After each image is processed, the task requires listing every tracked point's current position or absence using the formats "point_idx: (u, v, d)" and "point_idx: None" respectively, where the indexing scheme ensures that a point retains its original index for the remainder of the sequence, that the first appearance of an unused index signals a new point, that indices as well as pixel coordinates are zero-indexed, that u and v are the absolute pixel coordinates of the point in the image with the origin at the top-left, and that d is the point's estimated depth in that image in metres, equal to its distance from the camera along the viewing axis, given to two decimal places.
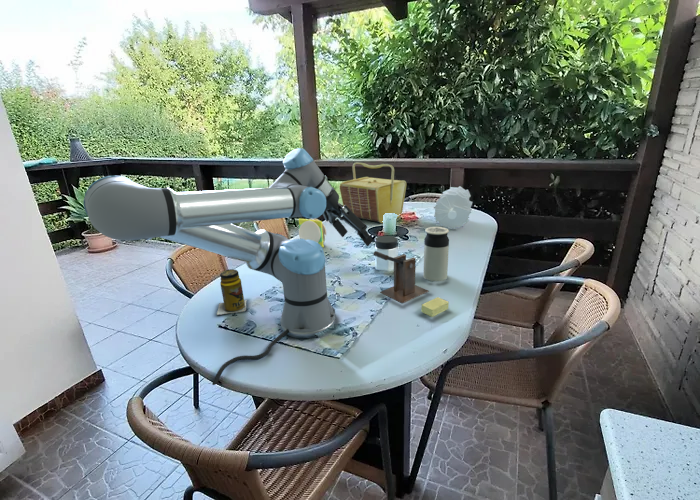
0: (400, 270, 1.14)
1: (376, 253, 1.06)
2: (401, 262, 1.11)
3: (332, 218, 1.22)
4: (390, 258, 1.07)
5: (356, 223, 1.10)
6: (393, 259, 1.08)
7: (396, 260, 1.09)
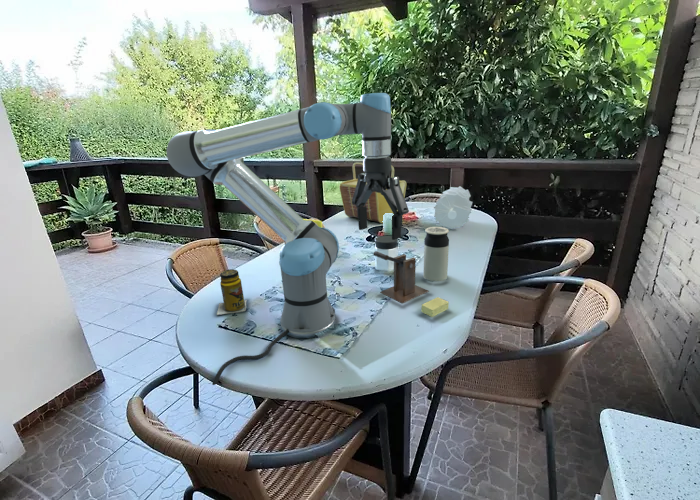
0: (400, 270, 1.14)
1: (376, 253, 1.06)
2: (401, 262, 1.11)
3: (364, 199, 1.04)
4: (390, 258, 1.07)
5: (400, 200, 0.93)
6: (393, 259, 1.08)
7: (396, 260, 1.09)
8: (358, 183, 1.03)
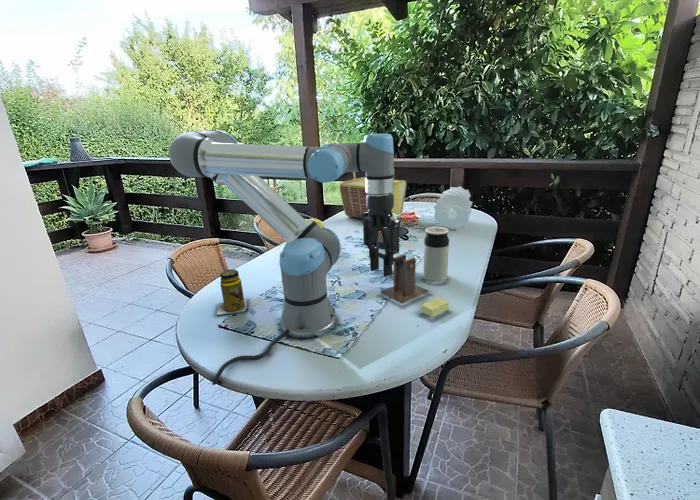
0: (400, 270, 1.14)
1: (376, 253, 1.06)
2: (401, 262, 1.11)
3: (373, 237, 1.05)
4: None
5: (394, 242, 0.98)
6: (393, 259, 1.08)
7: (396, 260, 1.09)
8: (364, 222, 1.06)
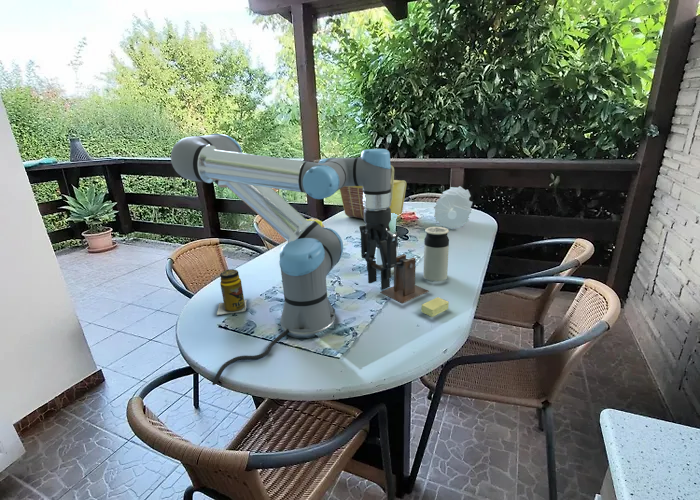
0: (400, 270, 1.14)
1: (373, 265, 1.06)
2: (401, 264, 1.11)
3: (371, 250, 1.06)
4: None
5: (391, 256, 0.99)
6: None
7: None
8: (362, 235, 1.06)
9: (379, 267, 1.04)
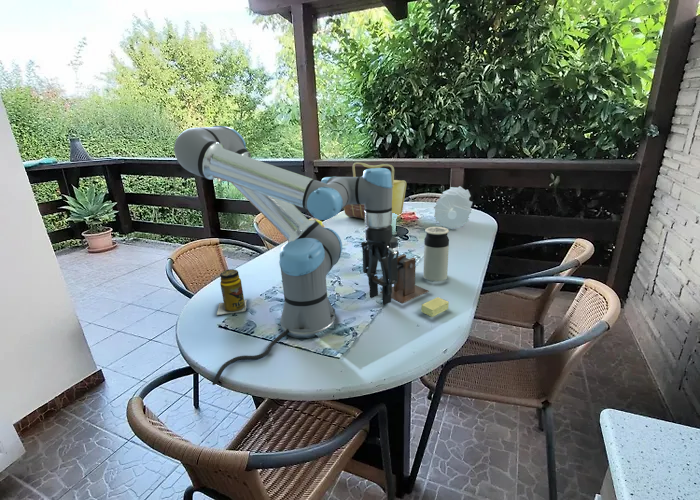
0: (400, 270, 1.14)
1: (374, 281, 1.08)
2: (401, 267, 1.11)
3: (372, 266, 1.08)
4: None
5: (392, 273, 1.01)
6: None
7: None
8: (363, 251, 1.08)
9: (380, 283, 1.06)
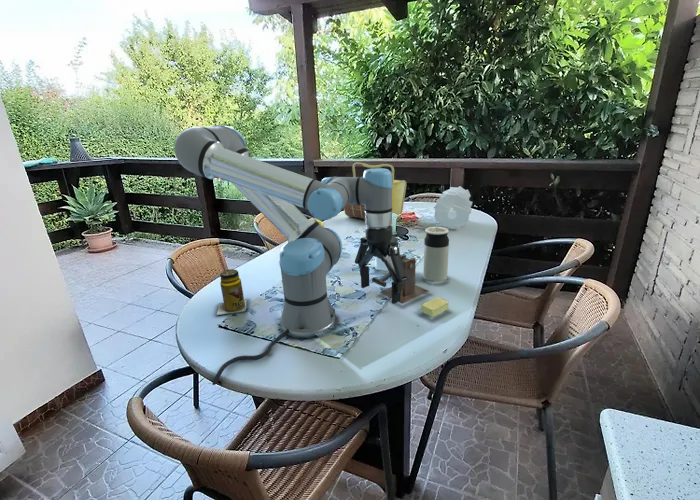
0: None
1: (374, 281, 1.08)
2: None
3: (366, 260, 1.09)
4: (389, 275, 1.09)
5: (399, 269, 0.98)
6: None
7: None
8: (361, 246, 1.09)
9: (380, 283, 1.06)
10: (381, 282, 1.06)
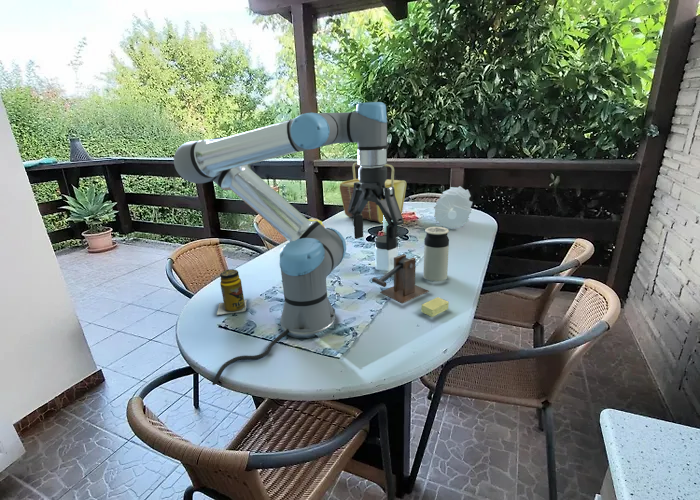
0: (400, 270, 1.14)
1: (374, 281, 1.08)
2: (401, 267, 1.11)
3: (359, 207, 1.03)
4: (389, 275, 1.09)
5: (394, 211, 0.92)
6: (392, 273, 1.09)
7: (395, 271, 1.10)
8: (354, 192, 1.02)
9: (380, 283, 1.06)
10: (381, 282, 1.06)
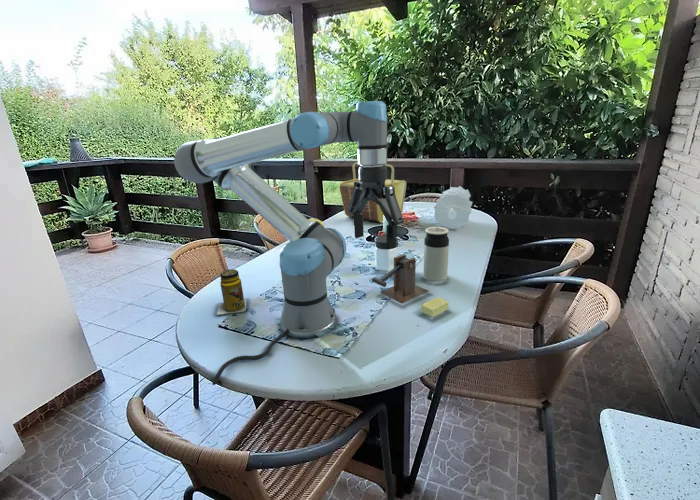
0: (400, 270, 1.14)
1: (374, 281, 1.08)
2: (401, 267, 1.11)
3: (360, 207, 1.03)
4: (389, 275, 1.09)
5: (395, 210, 0.92)
6: (392, 273, 1.09)
7: (395, 271, 1.10)
8: (354, 191, 1.02)
9: (380, 283, 1.06)
10: (381, 282, 1.06)
